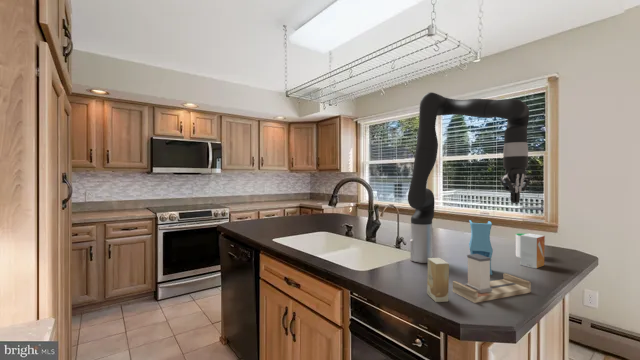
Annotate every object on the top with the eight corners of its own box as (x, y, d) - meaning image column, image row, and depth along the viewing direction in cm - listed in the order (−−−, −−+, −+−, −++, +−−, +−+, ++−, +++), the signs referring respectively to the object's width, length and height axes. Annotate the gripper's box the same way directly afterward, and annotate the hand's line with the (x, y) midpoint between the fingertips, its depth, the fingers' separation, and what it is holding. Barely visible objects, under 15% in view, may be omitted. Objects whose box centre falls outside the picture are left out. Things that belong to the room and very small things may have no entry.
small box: (536, 269, 120) (537, 237, 120) (519, 265, 125) (519, 235, 125) (544, 265, 124) (545, 235, 124) (527, 261, 130) (528, 233, 130)
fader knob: (480, 293, 92) (480, 259, 92) (465, 286, 97) (465, 254, 97) (492, 291, 93) (492, 258, 93) (476, 284, 99) (477, 253, 99)
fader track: (474, 302, 89) (474, 291, 89) (452, 291, 98) (452, 281, 98) (530, 292, 97) (530, 281, 97) (505, 282, 105) (505, 273, 105)
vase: (490, 269, 121) (490, 221, 120) (492, 275, 113) (492, 224, 113) (469, 266, 124) (469, 220, 124) (470, 272, 117) (470, 223, 116)
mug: (532, 253, 143) (532, 232, 143) (548, 258, 135) (548, 236, 135) (511, 255, 141) (511, 233, 141) (525, 259, 133) (526, 237, 133)
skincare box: (426, 294, 96) (426, 257, 96) (439, 293, 96) (439, 257, 96) (436, 302, 90) (436, 263, 89) (449, 302, 90) (449, 263, 90)
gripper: (511, 154, 100) (511, 204, 101) (538, 155, 104) (538, 203, 105) (492, 156, 107) (492, 202, 108) (518, 156, 111) (518, 201, 112)
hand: (515, 202), depth 106 cm, fingers closed
